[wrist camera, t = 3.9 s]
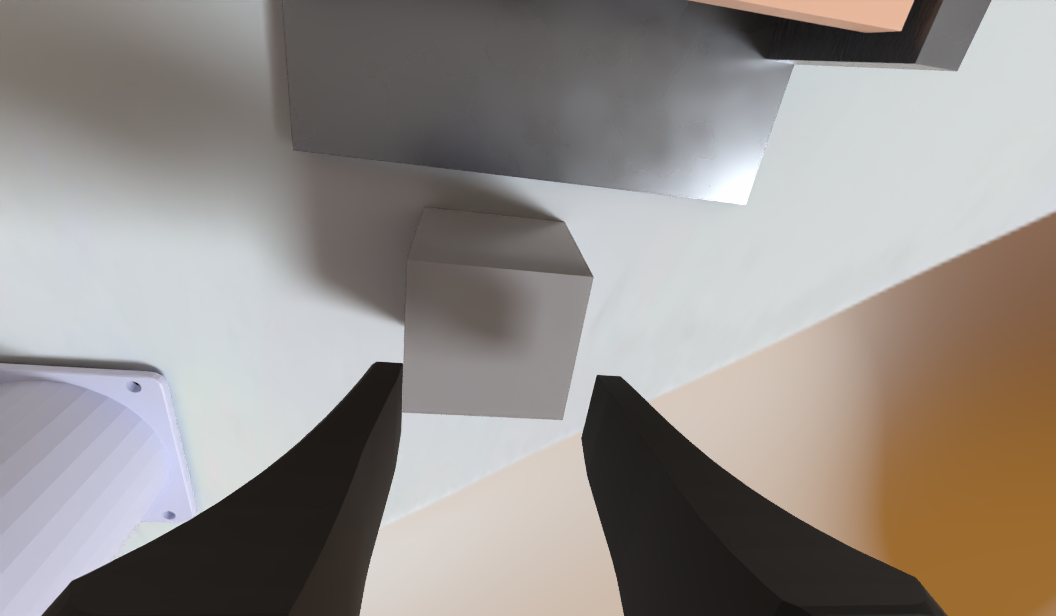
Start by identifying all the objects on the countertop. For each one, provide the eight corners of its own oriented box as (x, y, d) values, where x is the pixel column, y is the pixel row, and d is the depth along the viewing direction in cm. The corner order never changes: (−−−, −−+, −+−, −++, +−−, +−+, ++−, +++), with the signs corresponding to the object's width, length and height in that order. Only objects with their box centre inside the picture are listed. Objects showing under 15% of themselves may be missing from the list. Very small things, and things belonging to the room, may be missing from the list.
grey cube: (419, 330, 19) (402, 412, 15) (424, 206, 17) (406, 259, 13) (543, 338, 20) (562, 419, 16) (564, 221, 18) (593, 277, 13)
